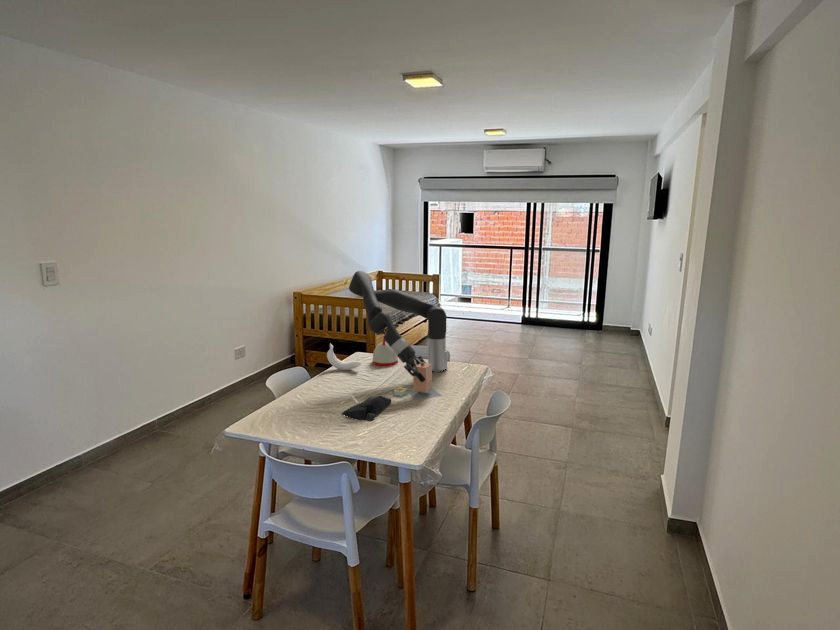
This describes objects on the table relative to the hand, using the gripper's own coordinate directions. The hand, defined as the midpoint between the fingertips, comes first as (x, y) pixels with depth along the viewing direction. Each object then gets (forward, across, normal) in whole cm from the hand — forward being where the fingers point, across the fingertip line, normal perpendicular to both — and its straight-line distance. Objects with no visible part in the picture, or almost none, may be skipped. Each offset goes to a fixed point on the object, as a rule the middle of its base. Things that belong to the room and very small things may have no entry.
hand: (426, 378), depth 221 cm
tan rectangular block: (+2, 0, -5) cm, 5 cm away
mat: (+5, 0, -6) cm, 8 cm away
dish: (-2, +5, -13) cm, 14 cm away
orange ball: (-3, +5, -13) cm, 14 cm away
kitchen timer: (-24, -37, -36) cm, 57 cm away
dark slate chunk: (-4, +25, -17) cm, 31 cm away
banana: (-33, -16, -45) cm, 58 cm away
